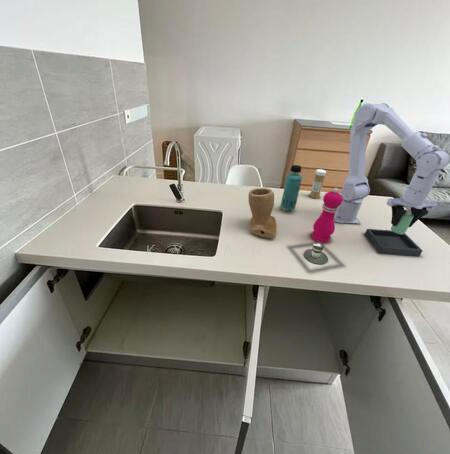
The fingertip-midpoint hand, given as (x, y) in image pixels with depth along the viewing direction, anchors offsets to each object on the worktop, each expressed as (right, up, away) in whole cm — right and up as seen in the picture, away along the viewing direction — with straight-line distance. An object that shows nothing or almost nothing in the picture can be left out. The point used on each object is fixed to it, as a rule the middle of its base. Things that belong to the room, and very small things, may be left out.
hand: (400, 225), depth 84 cm
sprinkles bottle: (-17, +13, +36) cm, 42 cm away
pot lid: (-31, -10, -4) cm, 33 cm away
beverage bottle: (-33, +6, +23) cm, 41 cm away
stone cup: (-47, -1, +10) cm, 48 cm away
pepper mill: (-26, -5, +6) cm, 27 cm away
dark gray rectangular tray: (-1, -7, +4) cm, 8 cm away
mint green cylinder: (0, -2, +1) cm, 2 cm away
